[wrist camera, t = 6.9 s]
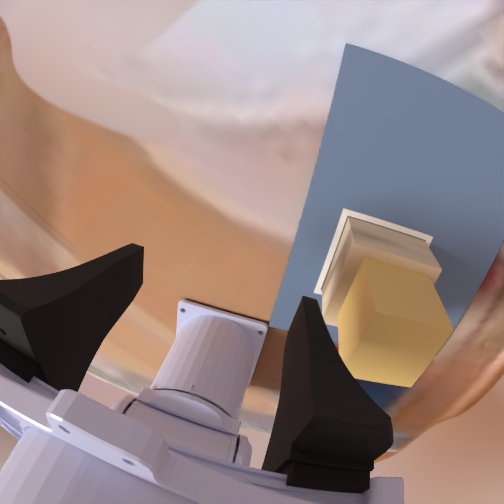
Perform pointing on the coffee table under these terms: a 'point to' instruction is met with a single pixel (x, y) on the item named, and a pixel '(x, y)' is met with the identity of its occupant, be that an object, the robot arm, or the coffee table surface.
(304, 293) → the board
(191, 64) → the coffee table surface
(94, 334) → the robot arm
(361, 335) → the ochre block
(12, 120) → the coffee table surface
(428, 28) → the coffee table surface
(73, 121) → the coffee table surface
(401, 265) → the maple base block
